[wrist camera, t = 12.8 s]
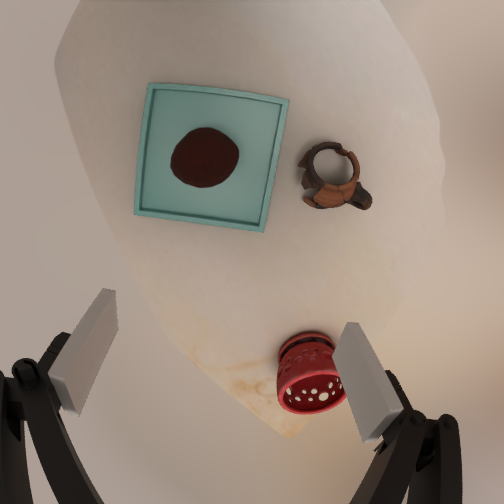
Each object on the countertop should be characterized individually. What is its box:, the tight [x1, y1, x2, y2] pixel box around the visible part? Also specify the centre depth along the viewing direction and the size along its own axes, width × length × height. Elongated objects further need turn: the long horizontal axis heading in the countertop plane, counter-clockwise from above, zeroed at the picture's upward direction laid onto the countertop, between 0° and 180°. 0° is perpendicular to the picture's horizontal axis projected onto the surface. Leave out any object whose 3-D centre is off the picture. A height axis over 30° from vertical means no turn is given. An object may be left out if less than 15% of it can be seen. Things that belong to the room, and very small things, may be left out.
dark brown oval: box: [170, 127, 239, 188], centre depth 36 cm, size 8×9×8 cm
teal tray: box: [134, 83, 289, 233], centre depth 39 cm, size 20×20×2 cm
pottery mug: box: [298, 142, 372, 210], centre depth 40 cm, size 12×10×8 cm
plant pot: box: [277, 333, 347, 414], centre depth 50 cm, size 13×13×12 cm
